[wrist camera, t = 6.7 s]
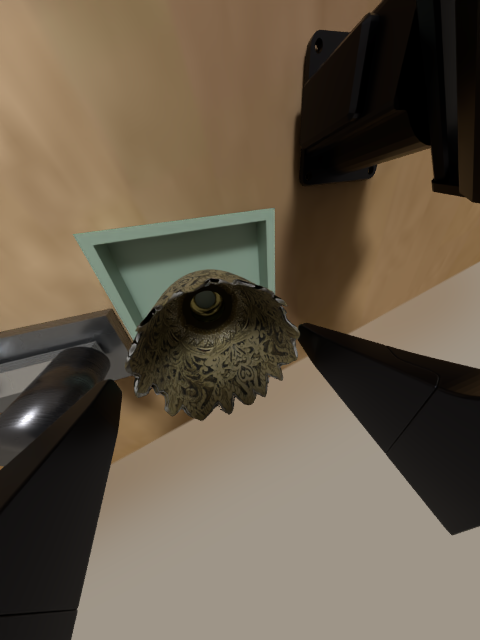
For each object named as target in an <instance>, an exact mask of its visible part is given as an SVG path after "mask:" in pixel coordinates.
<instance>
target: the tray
mask: <svg viewBox="0 0 480 640" xmlns="http://www.w3.org/2000/svg"><path fill="white" fill-rule="evenodd" d="M73 235H74V237H75V239H76V241H77V242H78V244H79V246H80V248H81V249H82V251H83V253H84V255H85V256H86V258H87V260H88V262H89V263H90V265H91V267H92V269H93V270H94V272H95V274H96V276H97V277H98V279H99V281H100V283H101V284H102V286H103V288H104V290H105V291H106V293H107V295H108V297H109V298H110V300H111V302H112V304H113V305H114V307H115V309H116V311H117V312H118V314H119V316H120V318H121V319H122V321H123V323H124V325H125V327H126V328H127V330H128V332H129V334H130V335H131V337H132V339H133V341H134V339H135V337H136V334H137V332H135V330H136V328H137V327H138V325H139V324H140V323H141V322H142V321H143V319H144V318H145V317H146V316H147V315H148V313H149V312H150V311H151V309H152V308H153V306H154V305H155V304H156V302H157V301H158V299H159V298H160V297H161V295H162V294H163V293H164V292H165V291H166V290H167V288H168V287H169V286H170V285H172V284H173V283H174V282H175V281H177V280H178V279H179V278H181V277H183V276H185V275H187V274H189V273H192V272H195V271H199V270H206V269H215V270H222V271H226V272H230V273H233V274H235V275H238V276H240V277H242V278H245V279H247V280H249V281H251V282H253V283H255V284H256V285H260V286H263V287H265V288H267V289H269V290H271V291H273V292H274V295H275V208H270V209H262V210H255V211H247V212H239V213H232V214H224V215H216V216H209V217H201V218H194V219H186V220H178V221H171V222H163V223H155V224H148V225H140V226H132V227H125V228H117V229H110V230H102V231H94V232H87V233H79V234H73ZM195 301H196V304H197V305H198V306H199V307H201V308H209V307H211V306H212V305H213V304H214V302H215V295H214V294H213V292H211V291H203V292H200V293H198V294H197V295H196V297H195Z"/></svg>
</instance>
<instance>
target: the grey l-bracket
mask: <svg viewBox="0 0 480 640" xmlns="http://www.w3.org/2000/svg"><path fill="white" fill-rule="evenodd" d="M94 341H96V342H97V344H98V345H99V346H100V348H101V349H102V351H103V352H104V353H105V355H106V356H107V357H108V358H109V360H110V364H111V366H110V369H109V371H108V373H107V375H106V377H105V379H104V380H107V379H112V380H117V379H121V378H124V377H128V376H131V375H130V374H129V373H127V372H126V370H125V362H126V358H127V355H128V352H129V349H130V347H131V345H132V343H131V341H130V339H129V338H128V336H127V334H126V332H125V331H124V329H123V327H122V326H121V324H120V322H119V320H118V319H117V317H116V315H115V314H114V312H113V310H112V309H107V310H102V311H98V312H93V313H88V314H83V315H79V316H74V317H69V318H64V319H60V320H55V321H50V322H46V323H41V324H36V325H31V326H27V327H22V328H17V329H12V330H8V331H3V332H0V364H3V363H7V362H11V361H15V360H19V359H24V358H28V357H32V356H36V355H40V354H44V353H49V352H53V351H57V350H61V349H65V348H69V347H73V346H78V345H82V344H86V343H90V342H94ZM21 393H22V392H20V393H16V394H12V395H9V396H5V397H1V398H0V413H2V412H4V411H5V409H6V408H7V407H8V406H9V405H10V404H11V403H12V402H13V401H14V400H15V399H16V398H17V397H18V396H19V395H20V394H21Z"/></svg>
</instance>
